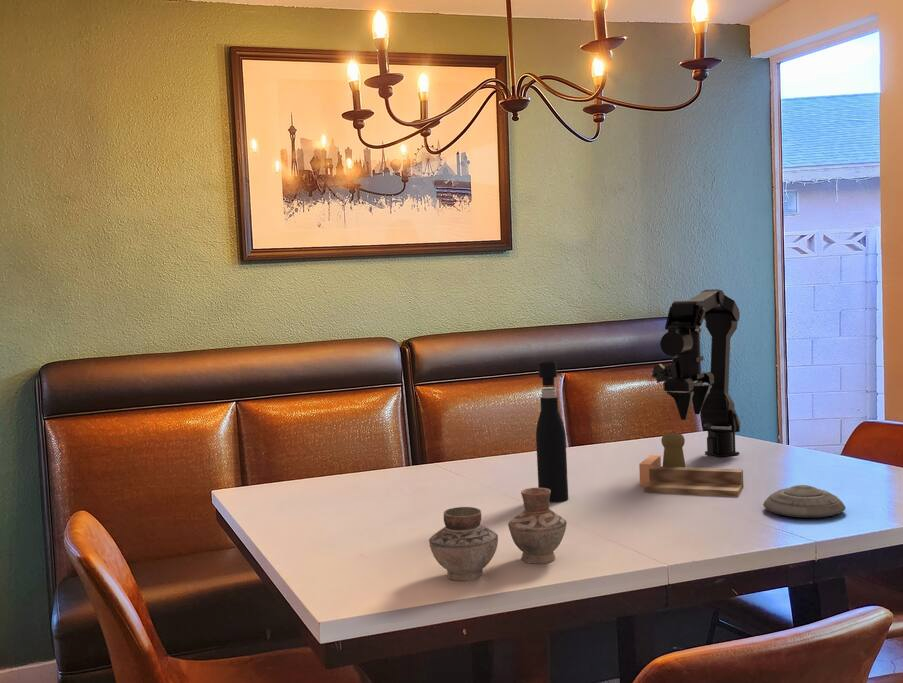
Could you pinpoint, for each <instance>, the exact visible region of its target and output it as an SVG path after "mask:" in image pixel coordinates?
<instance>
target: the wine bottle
mask: <svg viewBox="0 0 903 683" xmlns="http://www.w3.org/2000/svg"><path fill="white" fill-rule="evenodd" d="M557 365H558V364H557V362H556V361H554V360H552V361H550V360H547V361H546V360H545V361H539V362H538V377H539V378H541V380H542V384H541V385H542V386H541V387H543V388H542V389H541V397H540V400H539V401H540V413H539V415H538V419H537V423H536V431H535V440H536V441H535V442H536V443H535V444H536V446H535V447H536V462H537V464H536V465H537V466H536V467H537V483H538V487H537V488H547V489H550V490H551V493H550V499H549V504H550V503H551V504H552V503H562V502H566V501H568V500H569V485H568V484H569V483H568V482H569V480H568V463H567V462H568V461H567V438H566V430H565V429H566V428H565V425H564V422H563V419H562V416H561V413H560V411H559V398H558V396H557V395H558V394H557V390H556V388H554V387H555V378H557V377H558V369H557V368H558V367H557Z"/></svg>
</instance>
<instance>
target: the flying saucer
mask: <svg viewBox="0 0 903 683" xmlns="http://www.w3.org/2000/svg"><path fill="white" fill-rule="evenodd" d="M762 505H763V507H764V508H765V509H766V510H768V511H770V512H772V513H774V514H778V515H782V516H786V517H793V518H802V519H803V518H806V519H809V518H812V519H813V518H814V519H815V518H826V517H831V516H832V517H833V516H835V515H838V514H841V513H842V512H844V511H845V510H846V505H845V504H844V502H843V501H842V500H841V499H840V498H838V496H837V495H835V494H833V493H831V492H830V491H827V490H825V489H821V488H817V487H815V486H812V485H807V484H797V485H793V486H790V487H786V488H782V489H778V490H777V491H775V492H773V493H772V494H770V495H769V496H767V498H766V499H765V500H764V501H763V503H762Z"/></svg>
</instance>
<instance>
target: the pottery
mask: <svg viewBox="0 0 903 683" xmlns="http://www.w3.org/2000/svg"><path fill="white" fill-rule="evenodd" d="M550 493H551V490H550V489H547V488H538V487H529V488H525V489H523V490H521V491H520V494H521V498H522V502H523V505H524V510H523V511H521V512H519V513H518V514H516V515H515V516H514V517H513V518H511V519H510V520H509V521H508V524H507V527H508V530H509V532H510V536H511V539H512V541H513V544H515V546H516V547H517V549H519V550H520V551H521V552H522V555H521V560H522V561H523V562H524V563H528V564H535V565H538V564H539V565H541V564H549V563H553V561H555V560H556V555H555V552H554V551H555V550H557V548H558V547H559V546H560V544H561V543H562V540H563V539H564V535H565V533H566V529H567V524H568V523H567V520H566V519H565V518H563V517H562V516H561V515H559V514H558V513H556V512H555V511H553V510H552V509H550V502H549V499H550ZM481 521H482V510H481V509H480V508H477V507H471V506H459V507H458V506H456V507H452V508H448V509H445V510H444V511H443V522H444V527H442V528H440V530H438V531H437V532H435V533H434V534H433V535H431V537H430V538H429V539H428V542H429V548H430V550H431V553H432V555H433V557H434V559H435V561H437V563H438V564H439V565H440V566H441V567H442V568H443V569H445V570H446V571H447V577H448V578H449V579H450V580H452V581H457V582H458V581H459V582H462V581H463V582H467V581H475V580H478V579H480V578H482V577H483V575H484V571H483V570H484V569H485V568H486V567H487V566H488V564H489V563H490V562H491V561H492V559H493V557H494V556H495V554H496V552H497V548H498V541H499V535H498V534H497V533H496V532H495V531H493V530H492V529H490V528H489V527H486V526H485V525H483V524H481V523H482V522H481Z"/></svg>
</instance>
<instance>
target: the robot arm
mask: <svg viewBox="0 0 903 683" xmlns="http://www.w3.org/2000/svg"><path fill="white" fill-rule="evenodd" d="M740 315H741V314H740V309H739V307H738V305H737V303H736V301H735V300H734V299H732V298H730V297H729V296H727V295H726V294H725V293H724V291H723V290H722V289H720V288H717V289H704V290H702V291H701V292H700V293H699V294H697V295H695V296H693V297H692V298H690V299H688V300H687V299H685V300H674V301H673V302H672V303H671V305H670V307H669V309H668V314H667V317H666V322H665V325H664V329H665V330H667V332H666V333H664V334H663V336H662V337H661V338H660V339H661V340H660V344H659V345H660V349H661V351H662V352H663V353H664V354H665V355H667V356H670V357H673V358H672V361H671V363H670V364H668V365H663V364H662V363H659V364H658V363H657V364H656V365H653V368H652V371H651V372H652V375H651V377H652V378H653V379H655V380H656V383H657V384H659V383H662V384H663V386H662V387H663V392H666V394H667V395H668V396H671V397H672V398H673V400H674V403H675V405H676V408H677V411H678V415H679V418H680V419H681V420H682V421H686V420H687V417H688V414H689V411H690V408H691V404H692V409H693V412H694V414H695V415H700V422H701V429H702V432H707V437H706V450H707V451H704V454H706V455H710V456H713V457H719V458H722V457H728V456H729V457H730V456H737V455H740V452H739V451H737V450H736V433H740V432H741V421H740V420H741V419H740V418H739V416H738V414H737V411H736V408H735V402H734V401H733V399H732V397H731V395H730V394H729V385H730V384H729V382H730V380H729V379H730V358H731V357H730V356H731V354H730V351H731V338H732V337H733V336H734V334H735V332H736V330H738V324H739V321H740ZM704 321H705V328H706V329H707V330H708V333H709V335H710V336H711V345H710V346H711V349H710V351H711V352H710V369H709V370H710V371H702V361H704V355H701V332H702V329H701V326H703V325H702V324H703V323H704Z"/></svg>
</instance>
